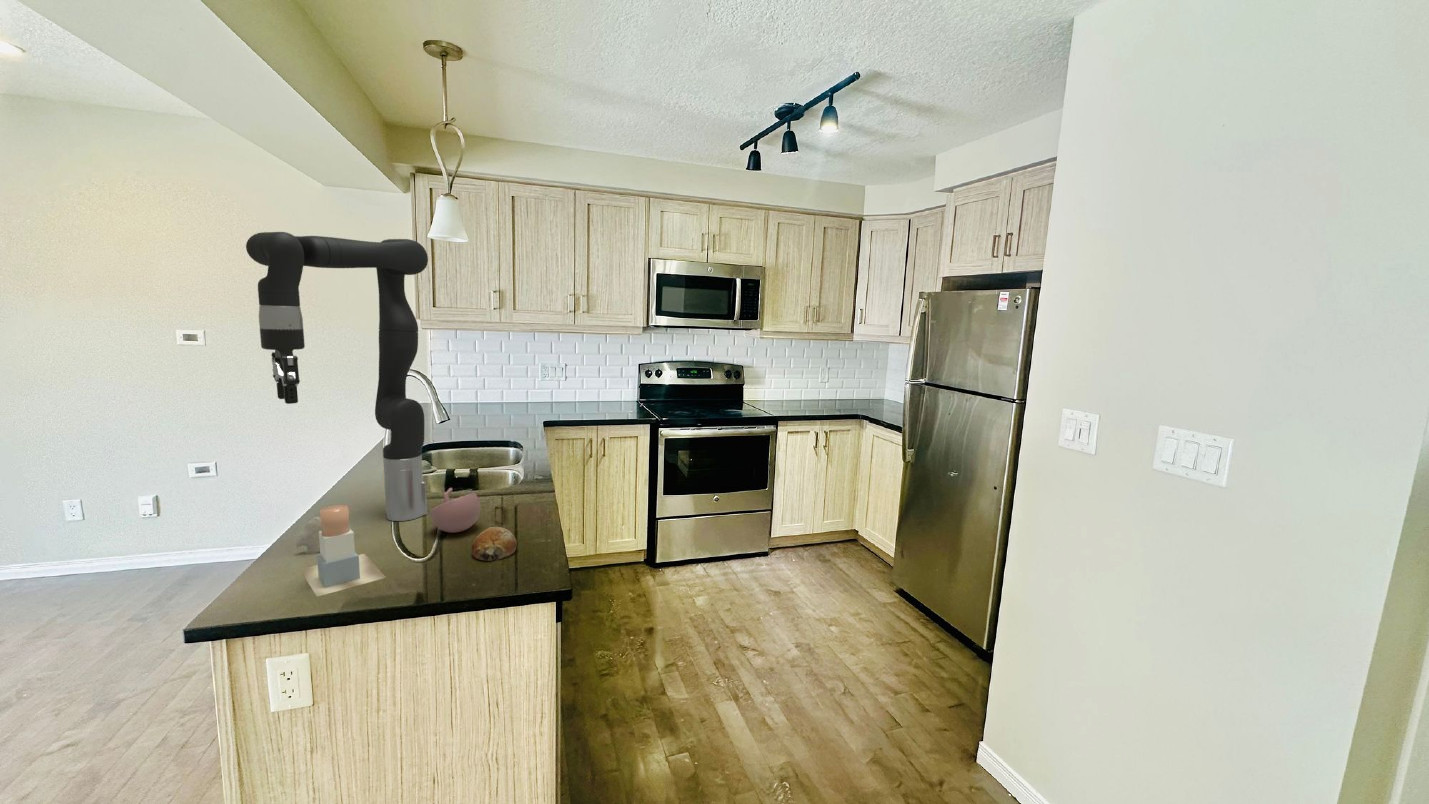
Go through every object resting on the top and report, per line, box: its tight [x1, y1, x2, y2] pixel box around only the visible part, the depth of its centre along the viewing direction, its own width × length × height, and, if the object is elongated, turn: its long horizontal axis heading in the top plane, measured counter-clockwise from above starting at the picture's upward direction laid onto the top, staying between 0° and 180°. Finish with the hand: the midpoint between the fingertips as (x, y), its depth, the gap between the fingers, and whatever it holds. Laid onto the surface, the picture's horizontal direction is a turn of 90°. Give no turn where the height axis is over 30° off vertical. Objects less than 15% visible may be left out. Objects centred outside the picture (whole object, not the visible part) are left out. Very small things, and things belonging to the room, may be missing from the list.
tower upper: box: [319, 528, 356, 563], centre depth 114 cm, size 5×5×5 cm
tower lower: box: [316, 551, 360, 588], centre depth 115 cm, size 6×6×5 cm
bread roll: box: [471, 526, 518, 562], centre depth 133 cm, size 10×10×8 cm
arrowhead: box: [294, 516, 321, 554], centre depth 127 cm, size 8×3×10 cm, turn 118°
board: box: [299, 553, 387, 598], centre depth 117 cm, size 12×16×2 cm
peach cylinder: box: [319, 504, 351, 537], centre depth 113 cm, size 5×5×5 cm
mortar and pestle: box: [429, 487, 481, 534], centre depth 145 cm, size 12×12×12 cm
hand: (287, 400), depth 123 cm, fingers open, 8 cm apart
